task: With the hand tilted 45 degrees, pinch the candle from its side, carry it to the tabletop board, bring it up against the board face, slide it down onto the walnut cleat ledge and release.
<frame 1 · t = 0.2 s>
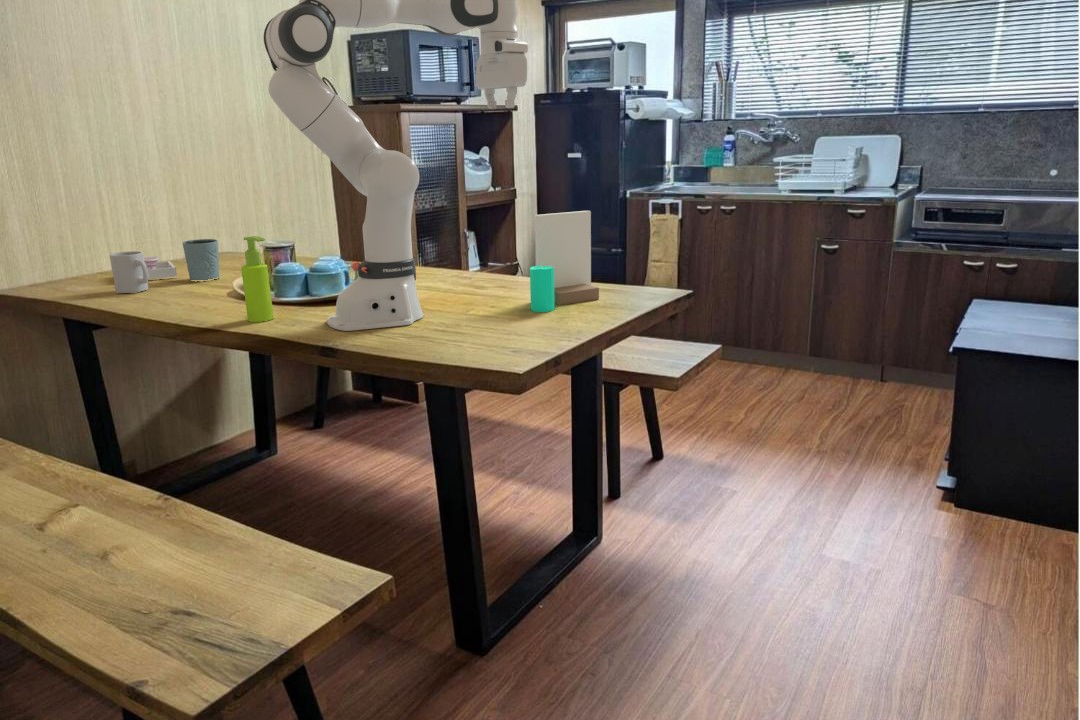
hand: (500, 108, 189), 48 cm above the table, tool pointing down, fingers open, 8 cm apart
teacup: (148, 278, 249), resting in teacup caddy
blue embossed cup: (205, 280, 243), on the table
mug: (136, 292, 227), on the table
soap dispenser: (262, 320, 189), on the table
tabletop board: (564, 297, 207), on the table
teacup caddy: (147, 277, 249), on the table
candle: (542, 310, 194), on the table
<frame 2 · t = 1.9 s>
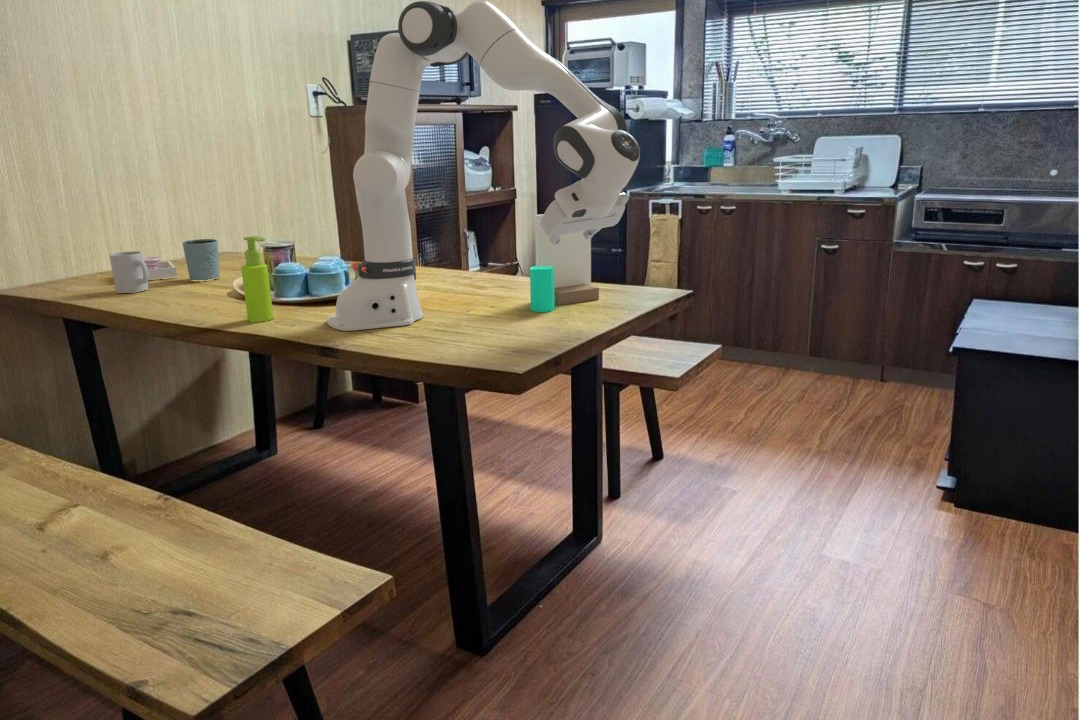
hand: (570, 239, 180), 18 cm above the table, tool tilted 45°, fingers open, 8 cm apart
nothing on the table moved.
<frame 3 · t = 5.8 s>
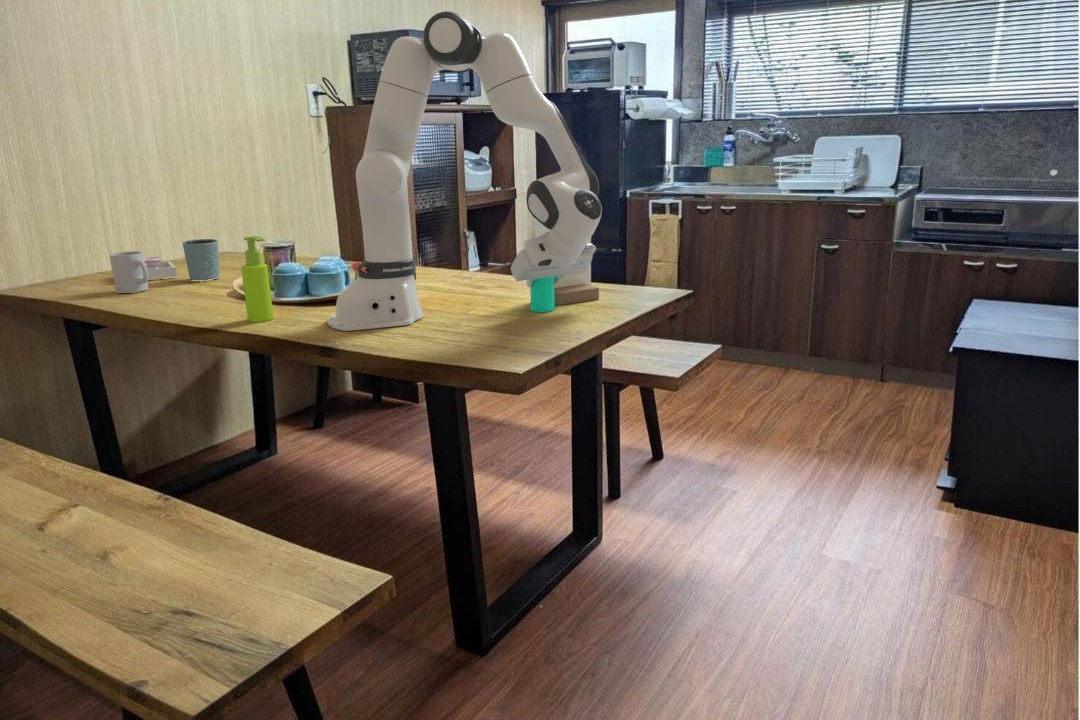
hand: (541, 283, 192), 6 cm above the table, tool tilted 45°, fingers closed on candle, 5 cm apart
candle: (542, 309, 194), on the table, touching gripper
everything else where it was.
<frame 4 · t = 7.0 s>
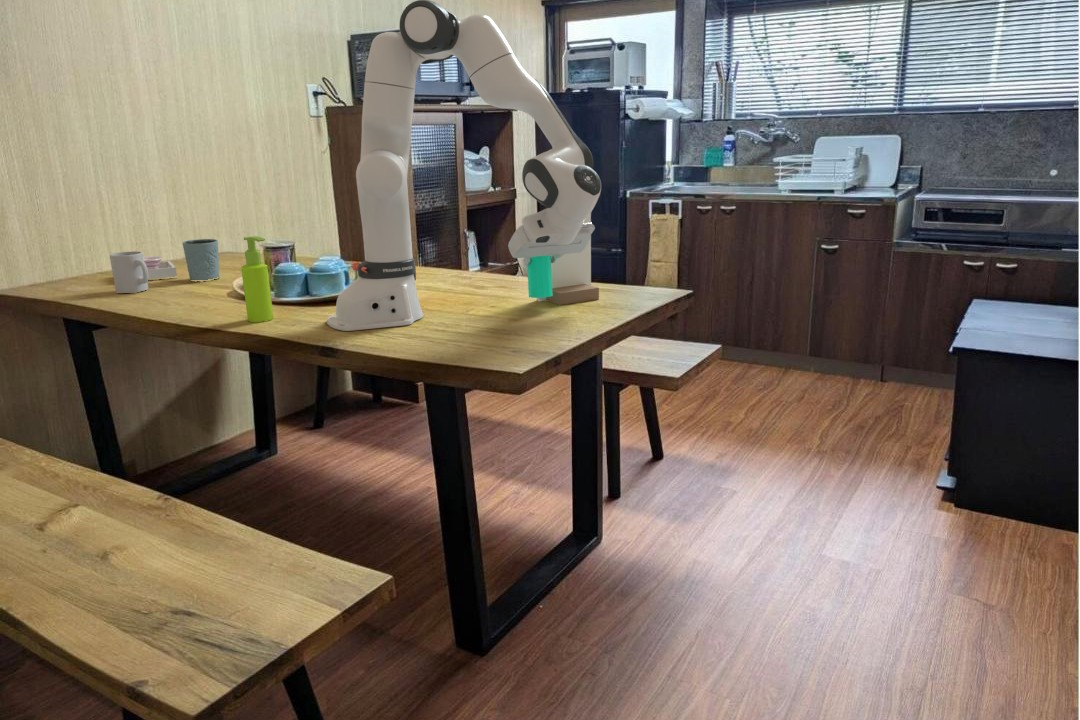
hand: (538, 262, 191), 12 cm above the table, tool tilted 45°, fingers closed on candle, 5 cm apart
candle: (540, 297, 192), point 3 cm above the table, touching gripper
everything else where it was.
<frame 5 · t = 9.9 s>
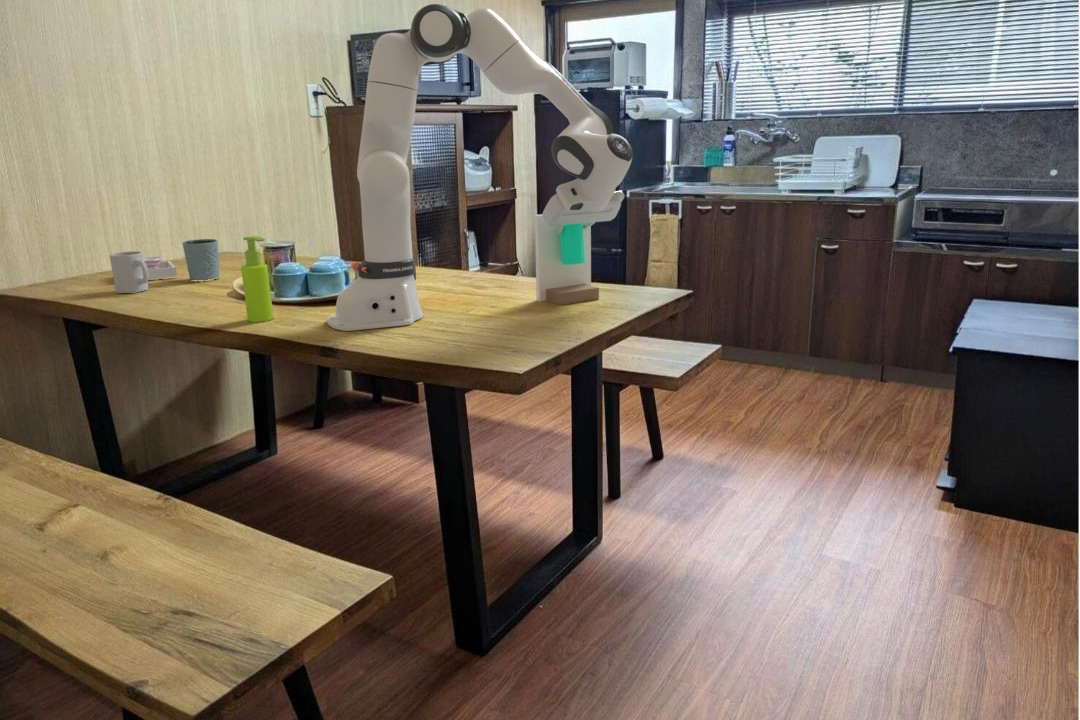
hand: (570, 230, 199), 18 cm above the table, tool tilted 45°, fingers closed on candle, 5 cm apart
candle: (573, 264, 200), point 9 cm above the table, touching gripper
everything else where it was.
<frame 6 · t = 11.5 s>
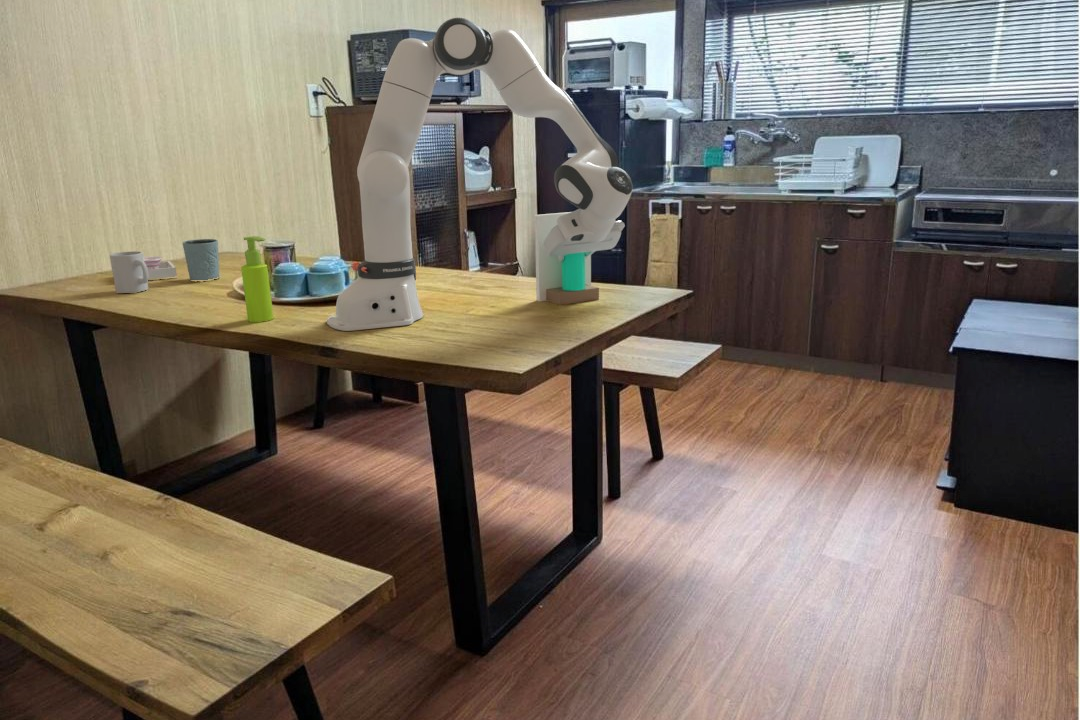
hand: (571, 259, 201), 11 cm above the table, tool tilted 45°, fingers closed on candle, 5 cm apart
candle: (573, 289, 202), point 3 cm above the table, touching gripper, tabletop board
everything else where it was.
when the fingers open (11 cm above the table, at t = 11.9 s): candle stays where it is, resting on tabletop board.
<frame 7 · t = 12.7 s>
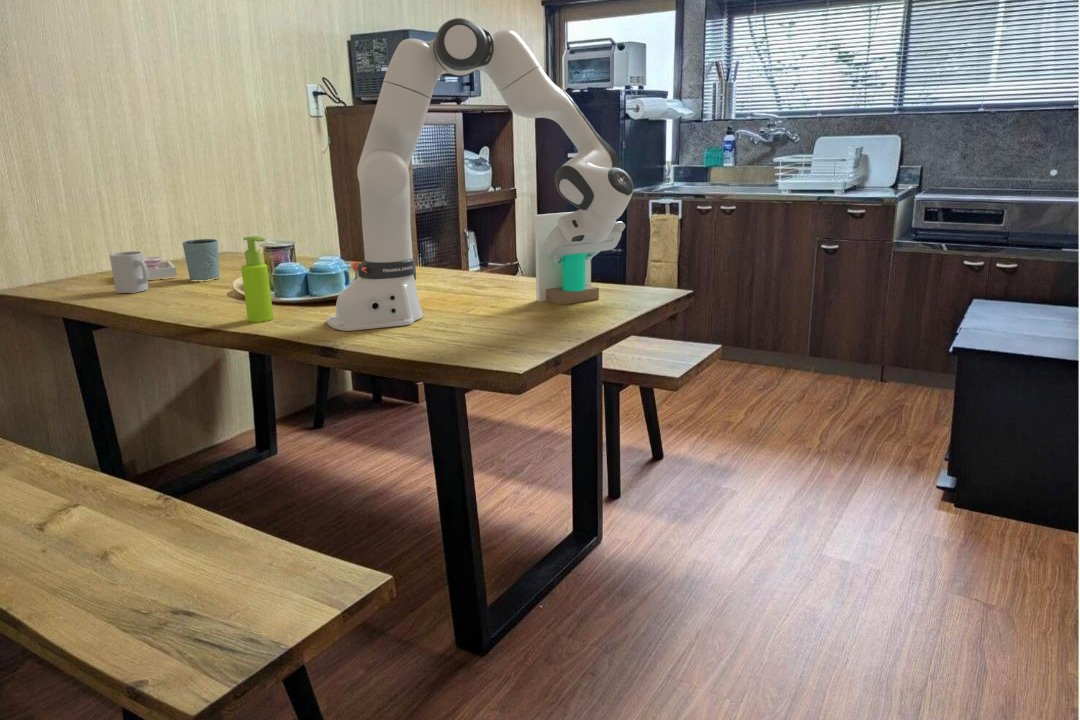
hand: (571, 259, 201), 10 cm above the table, tool tilted 45°, fingers open, 8 cm apart
candle: (573, 289, 202), point 3 cm above the table, touching tabletop board
everything else where it was.
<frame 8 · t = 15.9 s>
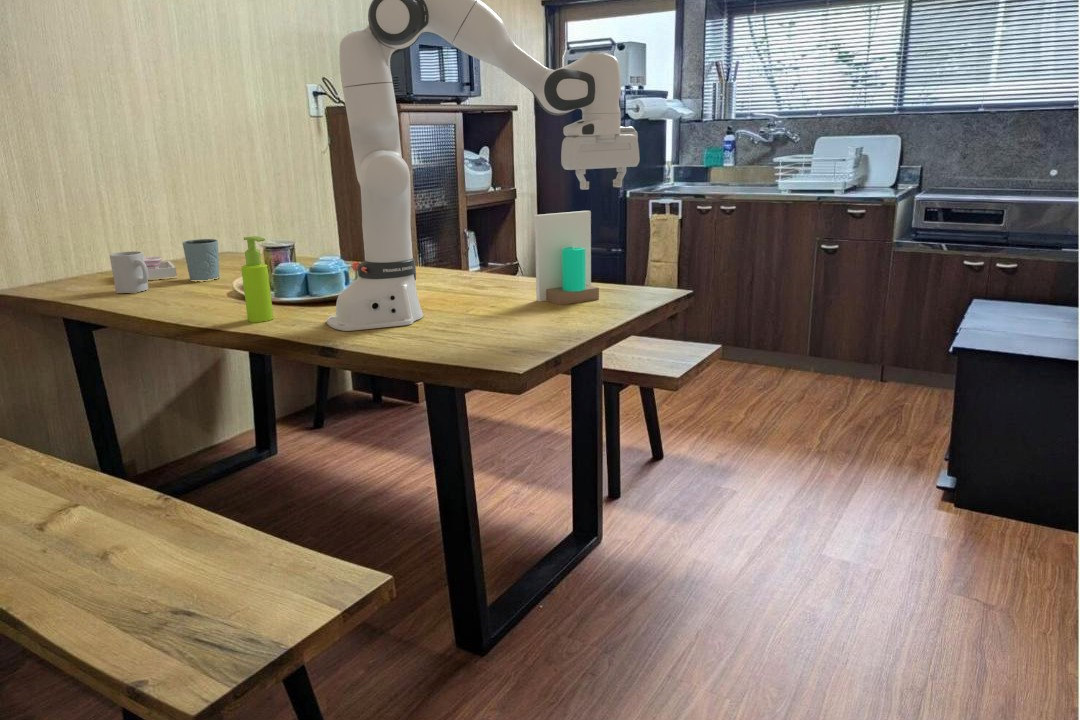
hand: (601, 188, 185), 29 cm above the table, tool pointing down, fingers open, 8 cm apart
at the end: candle inside the target area on the tabletop board (2.9 cm from its centre), point 2.8 cm above the tabletop board's base; candle tilted 0°; the gripper is holding nothing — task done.
